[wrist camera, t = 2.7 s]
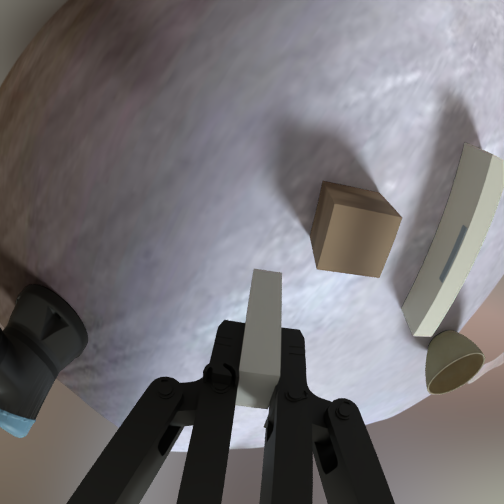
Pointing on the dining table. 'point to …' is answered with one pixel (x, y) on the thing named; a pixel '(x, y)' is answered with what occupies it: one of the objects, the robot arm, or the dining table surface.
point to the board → (455, 239)
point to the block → (353, 230)
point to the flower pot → (451, 362)
